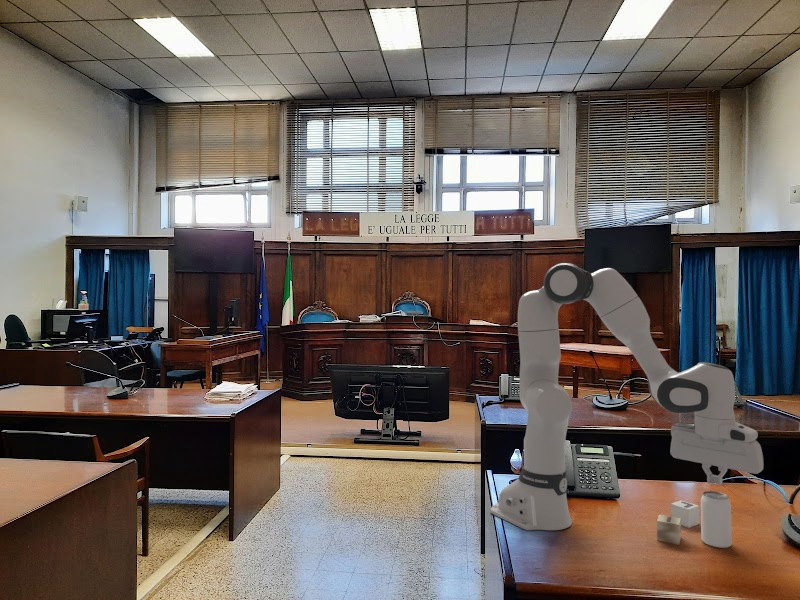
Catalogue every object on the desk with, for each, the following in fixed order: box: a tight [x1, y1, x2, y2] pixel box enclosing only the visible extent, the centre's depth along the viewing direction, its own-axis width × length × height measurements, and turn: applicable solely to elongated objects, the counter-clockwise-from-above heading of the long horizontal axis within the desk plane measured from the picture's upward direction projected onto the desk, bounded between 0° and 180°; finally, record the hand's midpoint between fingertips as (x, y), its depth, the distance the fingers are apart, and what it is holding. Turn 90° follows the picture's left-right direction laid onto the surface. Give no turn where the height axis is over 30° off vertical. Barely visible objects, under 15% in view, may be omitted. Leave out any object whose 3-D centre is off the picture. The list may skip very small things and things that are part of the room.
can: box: [700, 490, 732, 549], centre depth 133 cm, size 6×6×12 cm
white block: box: [670, 499, 700, 529], centre depth 145 cm, size 5×5×5 cm
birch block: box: [656, 514, 682, 546], centre depth 135 cm, size 5×5×5 cm
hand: (714, 483), depth 133 cm, fingers closed
